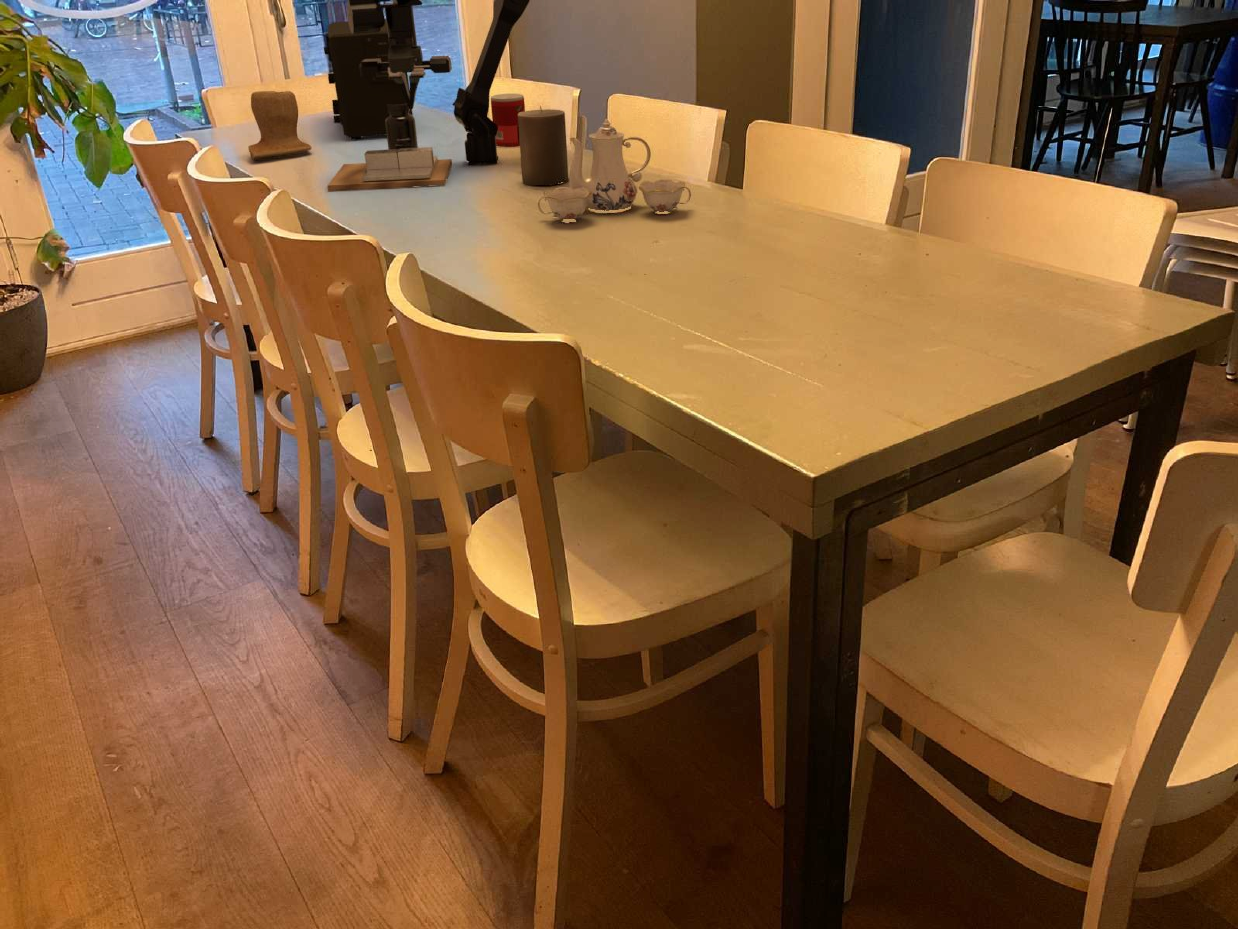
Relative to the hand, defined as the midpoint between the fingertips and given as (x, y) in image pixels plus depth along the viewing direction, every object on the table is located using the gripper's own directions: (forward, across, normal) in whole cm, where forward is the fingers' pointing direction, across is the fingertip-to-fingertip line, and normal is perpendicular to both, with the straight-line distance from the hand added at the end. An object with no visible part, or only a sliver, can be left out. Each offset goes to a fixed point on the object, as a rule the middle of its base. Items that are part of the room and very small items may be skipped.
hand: (411, 108), depth 219 cm
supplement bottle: (+13, -5, +15) cm, 21 cm away
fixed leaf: (+12, -3, -2) cm, 12 cm away
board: (+13, -5, -6) cm, 15 cm away
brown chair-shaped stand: (+13, -36, +23) cm, 45 cm away
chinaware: (+13, +40, -43) cm, 61 cm away
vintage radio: (+13, -18, +56) cm, 60 cm away
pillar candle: (+13, +28, -16) cm, 35 cm away
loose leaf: (+12, -3, -10) cm, 15 cm away
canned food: (+13, +20, +25) cm, 34 cm away
